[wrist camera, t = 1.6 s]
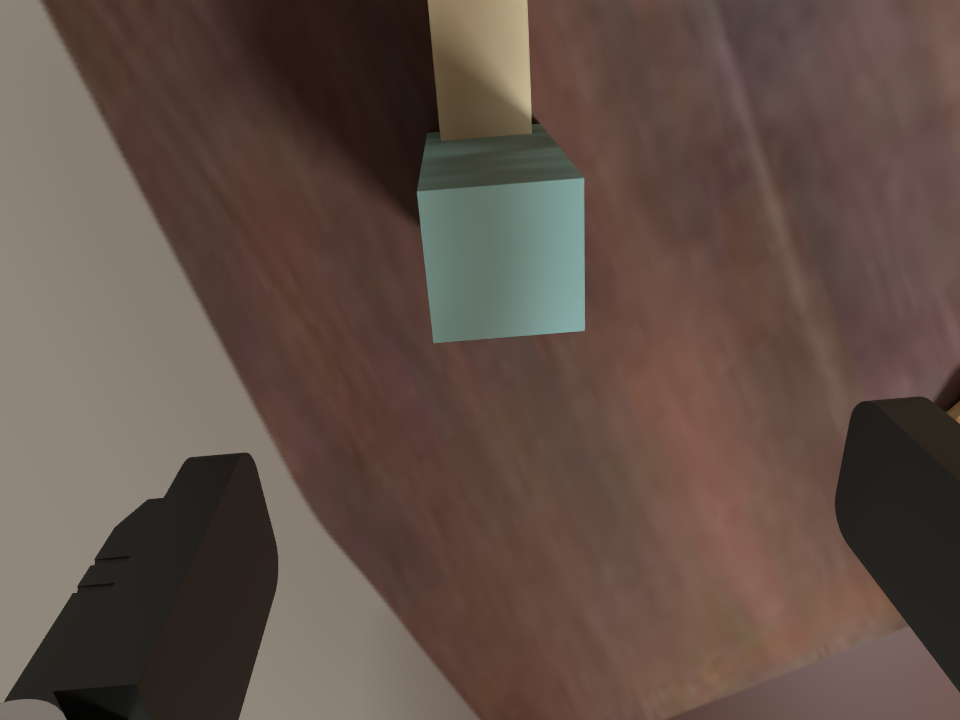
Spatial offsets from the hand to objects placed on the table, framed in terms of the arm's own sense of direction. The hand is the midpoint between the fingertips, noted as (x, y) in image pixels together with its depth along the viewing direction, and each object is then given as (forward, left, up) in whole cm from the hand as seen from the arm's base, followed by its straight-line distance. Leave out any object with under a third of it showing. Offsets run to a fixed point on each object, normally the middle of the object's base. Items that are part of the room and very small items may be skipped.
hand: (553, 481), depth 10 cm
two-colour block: (0, -6, -18) cm, 19 cm away
